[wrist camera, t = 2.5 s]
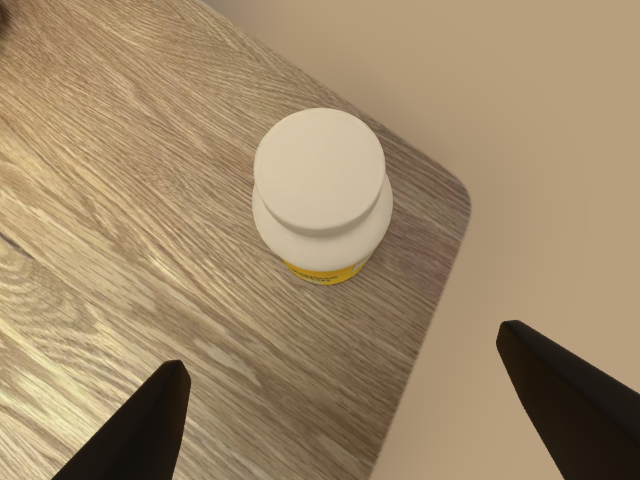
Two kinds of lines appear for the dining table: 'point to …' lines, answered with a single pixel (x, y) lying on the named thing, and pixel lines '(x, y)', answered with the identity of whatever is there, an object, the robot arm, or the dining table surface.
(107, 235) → the dining table surface
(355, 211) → the pill bottle
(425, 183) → the dining table surface
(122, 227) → the dining table surface
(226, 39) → the dining table surface
